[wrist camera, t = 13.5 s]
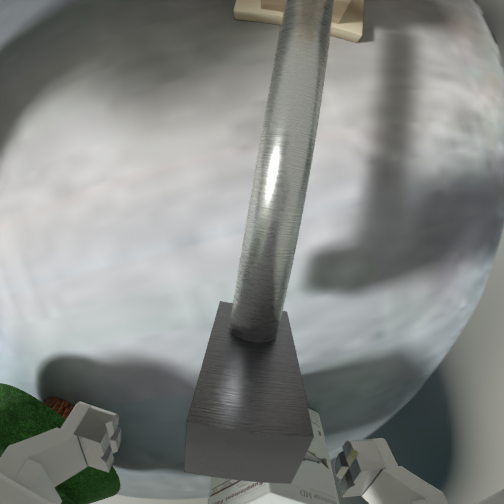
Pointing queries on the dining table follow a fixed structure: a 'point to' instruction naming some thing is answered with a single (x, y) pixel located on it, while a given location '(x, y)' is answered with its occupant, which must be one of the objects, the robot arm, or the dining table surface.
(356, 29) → the shaft stand
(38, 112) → the dining table surface
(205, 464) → the shaft
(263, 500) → the supplement box
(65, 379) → the dining table surface
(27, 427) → the decorative tree
